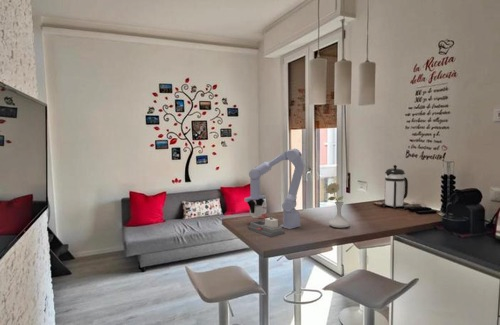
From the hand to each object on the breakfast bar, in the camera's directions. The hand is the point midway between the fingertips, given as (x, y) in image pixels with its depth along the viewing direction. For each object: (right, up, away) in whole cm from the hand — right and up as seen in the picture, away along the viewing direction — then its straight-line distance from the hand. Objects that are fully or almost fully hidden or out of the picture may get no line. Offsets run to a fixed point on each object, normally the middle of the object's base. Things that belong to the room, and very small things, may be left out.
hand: (255, 212), depth 190 cm
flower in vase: (+46, -7, -7) cm, 47 cm away
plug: (0, -2, 0) cm, 2 cm away
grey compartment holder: (+5, -8, -14) cm, 17 cm away
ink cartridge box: (+3, -6, +15) cm, 16 cm away
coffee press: (+100, -3, +41) cm, 108 cm away
